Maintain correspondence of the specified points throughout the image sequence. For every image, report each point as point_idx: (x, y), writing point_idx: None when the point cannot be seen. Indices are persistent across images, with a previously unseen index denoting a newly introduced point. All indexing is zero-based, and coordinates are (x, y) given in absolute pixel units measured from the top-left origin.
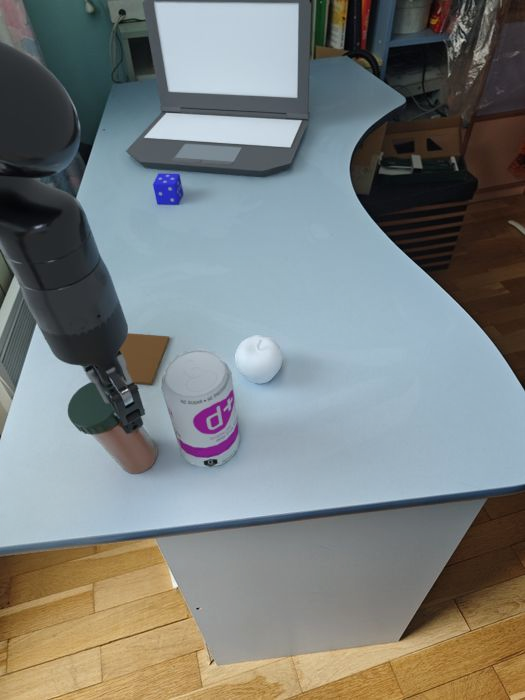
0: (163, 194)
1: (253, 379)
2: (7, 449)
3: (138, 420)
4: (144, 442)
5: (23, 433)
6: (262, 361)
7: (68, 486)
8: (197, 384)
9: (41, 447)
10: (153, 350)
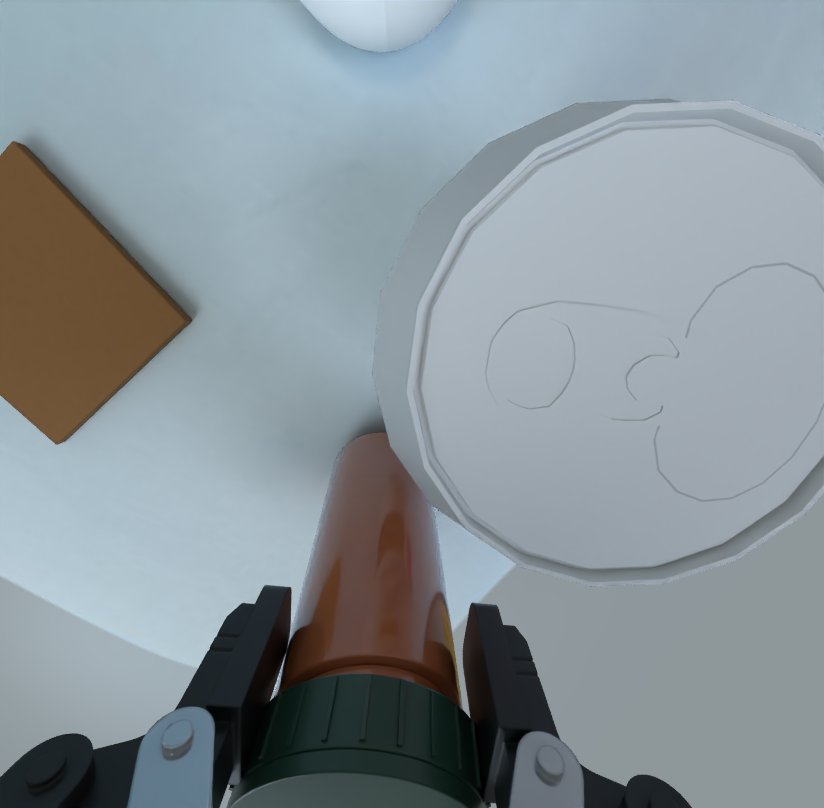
0: None
1: (426, 35)
2: (168, 656)
3: (537, 681)
4: (427, 509)
5: (144, 620)
6: None
7: None
8: (738, 434)
9: (208, 608)
10: (53, 231)
